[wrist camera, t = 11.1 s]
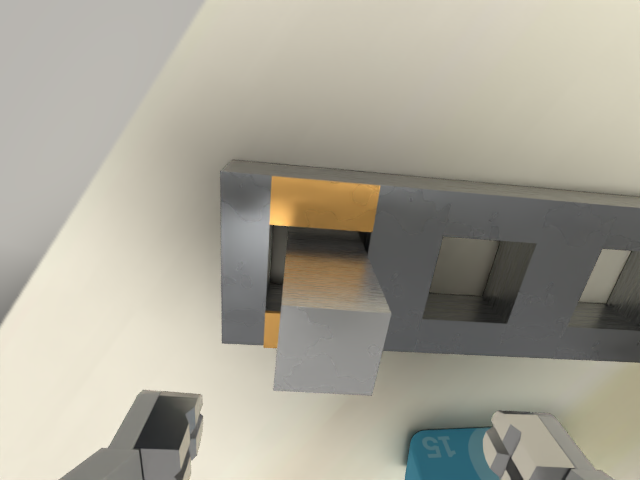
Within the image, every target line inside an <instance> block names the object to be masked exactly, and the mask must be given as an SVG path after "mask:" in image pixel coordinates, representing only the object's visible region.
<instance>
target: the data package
mask: <svg viewBox="0 0 640 480" xmlns="http://www.w3.org/2000/svg"><path fill="white" fill-rule="evenodd" d="M490 428H491V427H487V428H463V429H439V430H423V431H419V432H417V433H416V434H415V435H414V436H413V437H412V439H411V442H410V448H409V455H408V461H407V468H406V474H405V480H499V476H497V475H496V474H495V473H494V472H493V471H492V470H491V469H490V468H489V466H488V463H487V461H486V459H485V455H484V452H483V438H484V435H485V432H486V431H487V430H488V429H490Z"/></svg>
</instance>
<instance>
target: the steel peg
mask: <svg viewBox="0 0 640 480" xmlns="http://www.w3.org/2000/svg"><path fill="white" fill-rule="evenodd" d="M390 318H391V311H390V309H389V306H388V304H387V301H386V299H385V297H384V294H383V292H382V289H381V287H380V285H379V282H378V280H377V277H376V275H375V272H374V270H373V268H372V265H371V263H370V260H369V258H368V255H367V253H366V251H365V248H364V246H363V243H362V241H361V239H360V236H359V234H358V231H348V230H335V229H322V228H308V227H295V226H288V236H287V247H286V258H285V268H284V279H283V290H282V301H281V312H280V323H279V334H278V345H277V356H276V367H275V378H274V389H273V390H274V391H293V392H313V393H332V394H352V395H371V396H372V393H373V388H374V384H375V380H376V376H377V372H378V368H379V364H380V359H381V355H382V351H383V347H384V343H385V339H386V334H387V330H388V326H389V322H390Z"/></svg>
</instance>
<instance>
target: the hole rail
mask: <svg viewBox="0 0 640 480" xmlns="http://www.w3.org/2000/svg"><path fill="white" fill-rule="evenodd" d="M220 183H221V294H222V343H224V344H246V345H264V348H277V345H278V334H279V323H280V312H281V301H282V290H283V284H270V271H271V252H272V233H273V225H282V226H295V227H308V228H322V229H335V230H348V231H359V236H360V239H361V241H362V243H363V246H364V248H365V251H366V253H367V255H368V258H369V260H370V263H371V265H372V268H373V270H374V272H375V275H376V277H377V280H378V282H379V285H380V287H381V289H382V292H383V294H384V297H385V299H386V301H387V304H388V306H389V309H390V311H391V318H390V322H389V326H388V330H387V334H386V339H385V343H384V347H383V351H399V352H421V353H442V354H464V355H486V356H508V357H530V358H551V359H573V360H595V361H617V362H639V363H640V197H635V196H624V195H613V194H602V193H591V192H580V191H569V190H558V189H547V188H536V187H525V186H514V185H503V184H492V183H481V182H471V181H460V180H449V179H438V178H427V177H416V176H405V175H394V174H383V173H372V172H361V171H350V170H339V169H328V168H317V167H306V166H295V165H284V164H273V163H262V162H251V161H240V160H231V161H230V162H229V163H228V164H227V165H226V166H225V167H224V168H223V169H222V170H221V171H220ZM443 236H445V237H458V238H471V239H484V240H497V241H501V242H500V245H499V248H498V251H497V254H496V257H495V260H494V263H493V266H492V269H491V272H490V275H489V279H488V282H487V285H486V288H485V291H484V294H483V297H481V296H465V295H448V294H432V293H429V290H430V286H431V282H432V278H433V274H434V270H435V267H436V263H437V259H438V255H439V251H440V247H441V243H442V239H443ZM602 249H615V250H628V251H632V252H631V254H630V257H629V259H628V261H627V263H626V265H625V267H624V269H623V271H622V273H621V275H620V277H619V279H618V281H617V283H616V285H615V287H614V289H613V291H612V293H611V295H610V297H609V299H608V301H607V304H595V303H579V302H578V301H579V299H580V297H581V295H582V292H583V290H584V288H585V286H586V284H587V281H588V279H589V277H590V275H591V272H592V270H593V268H594V266H595V264H596V261H597V259H598V257H599V255H600V253H601V250H602Z"/></svg>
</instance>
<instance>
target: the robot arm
mask: <svg viewBox="0 0 640 480" xmlns="http://www.w3.org/2000/svg"><path fill="white" fill-rule="evenodd" d="M202 405H203V401H202V395H201V394H192V393H180V392H168V391H152V390H142V391H141V392H140V393H139V394H138V395H137V397H136V399H135V401H134V403H133V404H132V406H131V408H130V410H129V412H128V413H127V415H126V417H125V419H124V420H123V422H122V424H121V426H120V428H119V429H118V431H117V433H116V435H115V436H114V438H113V440H112V442H111V444H110V445H109V447H108V448H101V449H100V450H98V451H97V452H95V453H94V454H93V455H91V456H90V457H89V458H87V459H86V460H85V461H83V462H82V463H81V464H79V465H78V466H77V467H75V468H74V469H73V470H71V471H70V472H68V473H67V474H66V475H64V476H63V477H62V478H60V479H59V480H189V479H190V476H191V460H193V459H194V458H195V457H196V456H197V452H198V449H199V446H200V441H201V436H202V430H203V416H202V415H201V414H200V411H201V408H202ZM491 422H492V424H493V427H491V428H490V429H488V430H487V431H486V432H485V435H484V438H483V452H484V455H485V459H486V461H487V463H488V466H489V468H490V469H491V470H492V471H493V472H494V473H495V474H496V475H497V476H499V480H614V479H613V478H611V477H610V476H609V475H607V474H606V473H604V472H603V471H601V470H596V469H595V468H594V467H593V466H592V464H591V463H590V462H589V460H588V459H587V458H586V456H585V455H584V454H583V452H582V451H581V450H580V449H579V447H578V446H577V445H576V443H575V442H574V441H573V439H572V438H571V437H570V435H569V434H568V433H567V432H566V430H565V429H564V428H563V426H562V425H561V424H560V422H559V421H558V420H557V419H556V417H554V416H553V415H552V414H550V413H534V412H532V413H530V412H517V411H497V412H495V413H494V414H493V416H492V418H491Z"/></svg>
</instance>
